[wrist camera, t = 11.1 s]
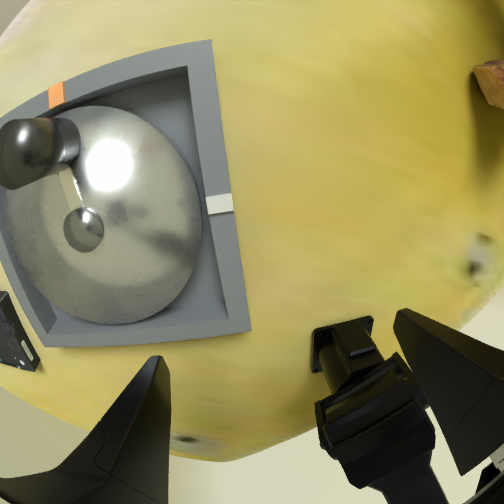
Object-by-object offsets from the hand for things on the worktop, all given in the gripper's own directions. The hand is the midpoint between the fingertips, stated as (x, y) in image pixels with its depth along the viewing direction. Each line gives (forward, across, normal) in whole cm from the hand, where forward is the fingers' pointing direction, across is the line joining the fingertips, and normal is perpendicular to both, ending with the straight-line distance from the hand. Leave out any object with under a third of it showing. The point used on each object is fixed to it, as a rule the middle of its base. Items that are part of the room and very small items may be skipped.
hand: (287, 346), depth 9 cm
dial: (+11, +11, -3) cm, 16 cm away
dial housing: (+12, +11, -3) cm, 17 cm away
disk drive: (+13, +34, +6) cm, 37 cm away
